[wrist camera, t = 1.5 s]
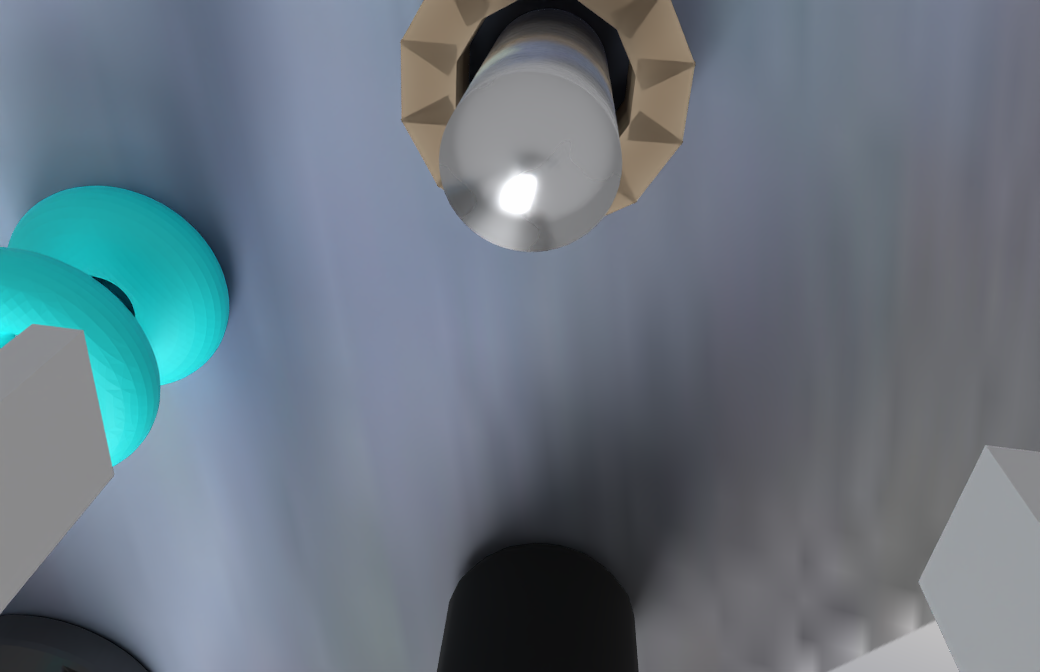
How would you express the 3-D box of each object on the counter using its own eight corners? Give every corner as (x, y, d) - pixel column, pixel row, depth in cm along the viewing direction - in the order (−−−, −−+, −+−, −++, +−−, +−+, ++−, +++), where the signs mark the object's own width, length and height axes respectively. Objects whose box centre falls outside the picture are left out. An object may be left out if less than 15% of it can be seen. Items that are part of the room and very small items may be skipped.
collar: (419, 185, 35) (402, 218, 31) (420, -84, 30) (398, -81, 26) (658, 205, 34) (666, 240, 31) (699, -63, 29) (715, -58, 26)
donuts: (23, 530, 33) (-191, 352, 29) (141, 397, 41) (-12, 246, 38) (192, 429, 30) (-23, 214, 26) (281, 308, 38) (129, 134, 35)
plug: (486, 126, 33) (437, 244, 22) (491, 3, 31) (440, 64, 20) (600, 135, 33) (610, 258, 22) (614, 13, 31) (633, 79, 19)
